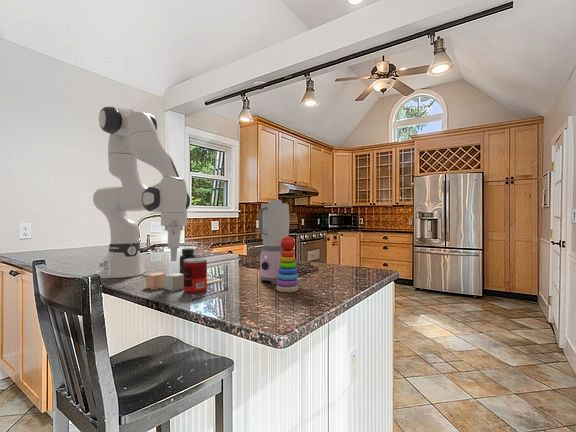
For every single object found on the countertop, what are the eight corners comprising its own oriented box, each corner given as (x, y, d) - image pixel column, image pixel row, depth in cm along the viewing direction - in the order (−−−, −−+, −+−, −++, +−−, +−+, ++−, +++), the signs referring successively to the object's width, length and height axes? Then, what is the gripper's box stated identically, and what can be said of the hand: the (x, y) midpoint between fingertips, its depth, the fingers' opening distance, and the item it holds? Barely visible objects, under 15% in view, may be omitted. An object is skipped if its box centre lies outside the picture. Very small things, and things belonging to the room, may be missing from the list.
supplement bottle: (176, 278, 131) (175, 249, 131) (185, 275, 137) (185, 247, 137) (190, 279, 129) (190, 250, 129) (199, 276, 135) (199, 248, 135)
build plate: (189, 282, 123) (189, 280, 123) (206, 279, 129) (206, 276, 129) (204, 285, 117) (204, 283, 117) (221, 281, 124) (221, 279, 124)
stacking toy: (296, 293, 105) (296, 237, 104) (273, 292, 106) (273, 237, 106) (300, 288, 112) (300, 235, 112) (278, 287, 114) (278, 235, 114)
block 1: (146, 288, 115) (146, 274, 114) (158, 285, 119) (158, 272, 119) (153, 290, 112) (153, 275, 112) (166, 287, 116) (166, 273, 116)
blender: (273, 276, 133) (273, 201, 133) (297, 279, 126) (296, 200, 126) (247, 283, 121) (247, 200, 121) (271, 287, 114) (271, 198, 113)
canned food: (210, 288, 113) (209, 257, 113) (201, 294, 105) (201, 261, 105) (189, 287, 114) (189, 257, 114) (179, 293, 106) (179, 261, 106)
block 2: (164, 289, 113) (164, 275, 113) (176, 286, 117) (176, 273, 117) (172, 291, 110) (172, 276, 110) (185, 288, 114) (184, 274, 114)
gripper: (183, 220, 104) (183, 262, 104) (182, 221, 123) (182, 256, 123) (163, 220, 102) (163, 263, 102) (165, 221, 121) (165, 257, 121)
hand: (173, 259), depth 112 cm, fingers open, 8 cm apart
